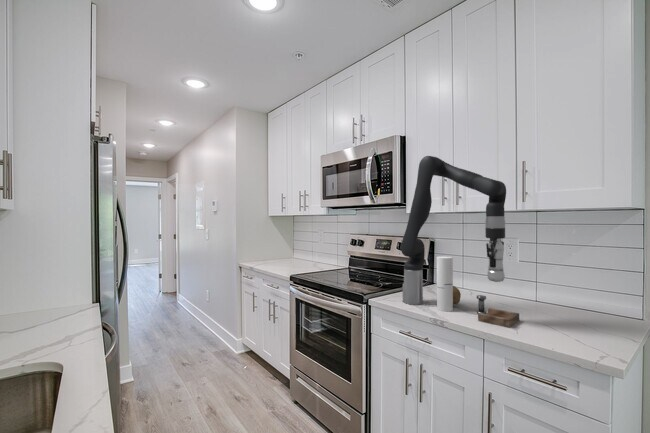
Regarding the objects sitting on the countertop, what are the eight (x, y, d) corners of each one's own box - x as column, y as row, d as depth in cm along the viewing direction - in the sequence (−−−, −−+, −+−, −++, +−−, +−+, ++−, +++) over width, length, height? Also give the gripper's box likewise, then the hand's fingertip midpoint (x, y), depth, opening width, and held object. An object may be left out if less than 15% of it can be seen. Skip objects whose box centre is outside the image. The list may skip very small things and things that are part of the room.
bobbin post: (475, 313, 149) (475, 296, 149) (478, 312, 151) (478, 294, 151) (484, 315, 146) (484, 297, 146) (487, 313, 149) (487, 296, 149)
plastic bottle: (497, 283, 135) (497, 235, 135) (483, 280, 141) (483, 234, 141) (508, 282, 138) (508, 235, 138) (494, 279, 144) (494, 234, 144)
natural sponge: (444, 302, 169) (444, 282, 169) (462, 304, 164) (462, 284, 164) (439, 306, 162) (439, 286, 162) (458, 308, 157) (458, 288, 157)
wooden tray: (478, 320, 139) (478, 313, 139) (489, 314, 148) (489, 307, 148) (509, 327, 130) (509, 320, 130) (519, 320, 139) (519, 313, 139)
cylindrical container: (454, 311, 152) (453, 258, 152) (438, 311, 153) (437, 257, 153) (451, 307, 159) (451, 256, 159) (436, 307, 160) (435, 256, 160)
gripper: (492, 226, 147) (492, 264, 147) (479, 227, 137) (479, 267, 137) (510, 226, 142) (510, 265, 142) (498, 227, 132) (498, 269, 132)
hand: (495, 266), depth 140 cm, fingers closed on plastic bottle, 5 cm apart
